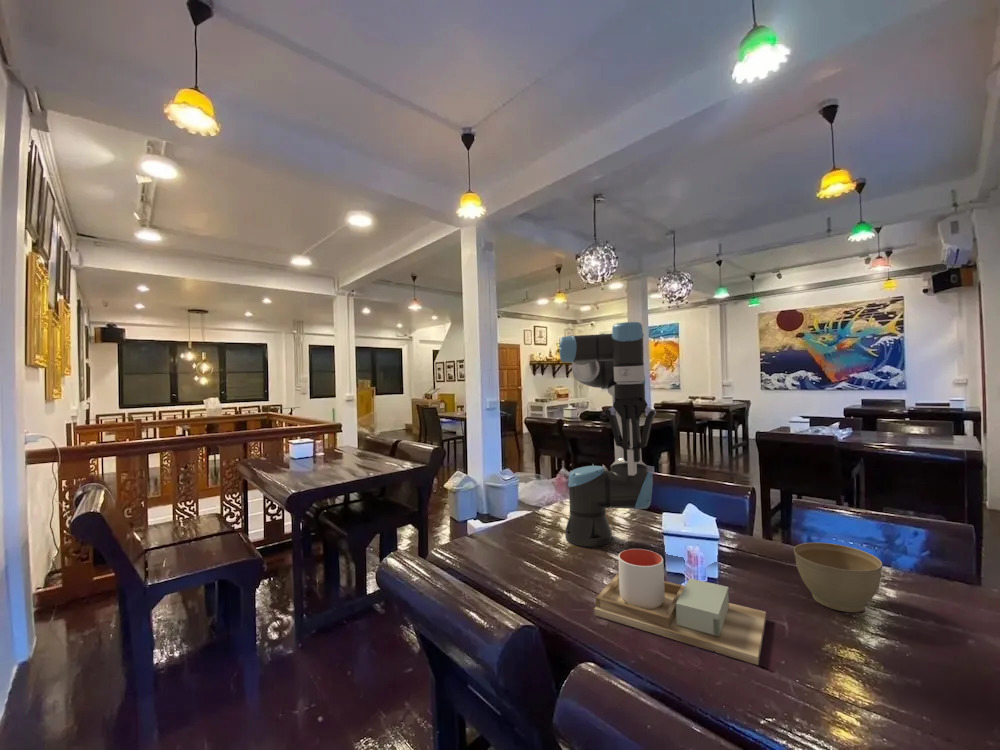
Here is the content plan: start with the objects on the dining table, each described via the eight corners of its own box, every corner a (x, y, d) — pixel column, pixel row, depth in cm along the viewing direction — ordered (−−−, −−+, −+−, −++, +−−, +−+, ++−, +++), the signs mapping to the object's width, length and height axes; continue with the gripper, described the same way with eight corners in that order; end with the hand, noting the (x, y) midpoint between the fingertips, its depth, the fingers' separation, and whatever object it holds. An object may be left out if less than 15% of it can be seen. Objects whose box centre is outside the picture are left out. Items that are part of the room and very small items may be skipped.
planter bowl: (863, 589, 105) (862, 544, 105) (900, 627, 90) (898, 574, 90) (786, 582, 111) (785, 539, 111) (808, 615, 95) (806, 566, 95)
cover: (690, 597, 101) (689, 578, 101) (729, 606, 97) (728, 586, 97) (676, 624, 91) (675, 603, 91) (719, 636, 86) (718, 614, 86)
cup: (668, 613, 96) (666, 567, 96) (621, 610, 98) (619, 565, 98) (661, 590, 105) (659, 549, 105) (618, 588, 107) (616, 547, 107)
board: (622, 582, 113) (621, 565, 113) (766, 618, 95) (765, 597, 95) (594, 615, 99) (593, 595, 99) (758, 665, 80) (757, 640, 80)
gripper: (599, 384, 112) (603, 474, 113) (651, 383, 105) (654, 480, 106) (609, 382, 119) (612, 468, 119) (659, 381, 112) (662, 473, 112)
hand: (632, 474), depth 113 cm, fingers closed
